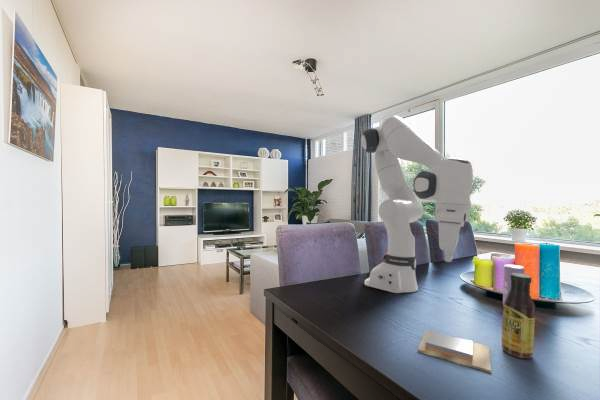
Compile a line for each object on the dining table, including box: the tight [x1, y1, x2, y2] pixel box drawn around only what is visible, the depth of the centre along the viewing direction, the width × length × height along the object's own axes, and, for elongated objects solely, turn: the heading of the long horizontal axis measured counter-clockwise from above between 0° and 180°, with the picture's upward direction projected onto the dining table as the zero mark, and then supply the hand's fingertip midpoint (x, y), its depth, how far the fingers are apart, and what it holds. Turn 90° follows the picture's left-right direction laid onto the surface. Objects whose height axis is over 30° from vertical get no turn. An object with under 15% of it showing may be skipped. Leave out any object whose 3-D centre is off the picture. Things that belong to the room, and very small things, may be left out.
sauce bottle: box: [501, 273, 536, 360], centre depth 68 cm, size 6×6×20 cm
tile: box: [426, 330, 474, 362], centre depth 69 cm, size 10×2×8 cm
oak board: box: [417, 330, 492, 374], centre depth 69 cm, size 15×12×1 cm
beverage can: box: [502, 263, 526, 306], centre depth 98 cm, size 6×6×15 cm
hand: (448, 260), depth 79 cm, fingers closed
